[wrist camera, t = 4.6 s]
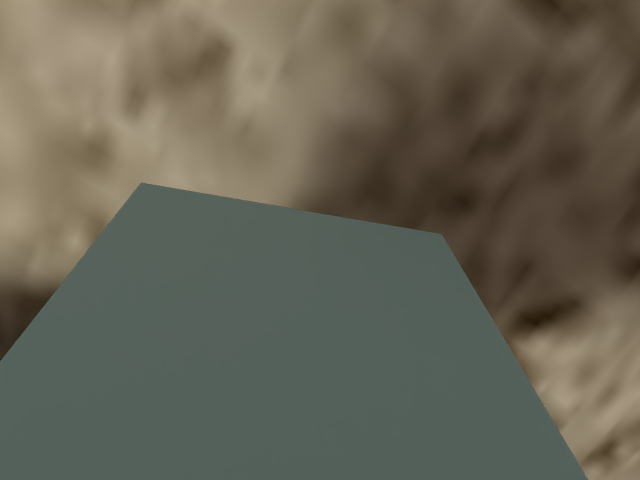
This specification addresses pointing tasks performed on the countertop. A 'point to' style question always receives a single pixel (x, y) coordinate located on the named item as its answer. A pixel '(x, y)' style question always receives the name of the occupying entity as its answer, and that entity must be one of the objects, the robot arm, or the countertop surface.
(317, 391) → the block
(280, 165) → the countertop surface
